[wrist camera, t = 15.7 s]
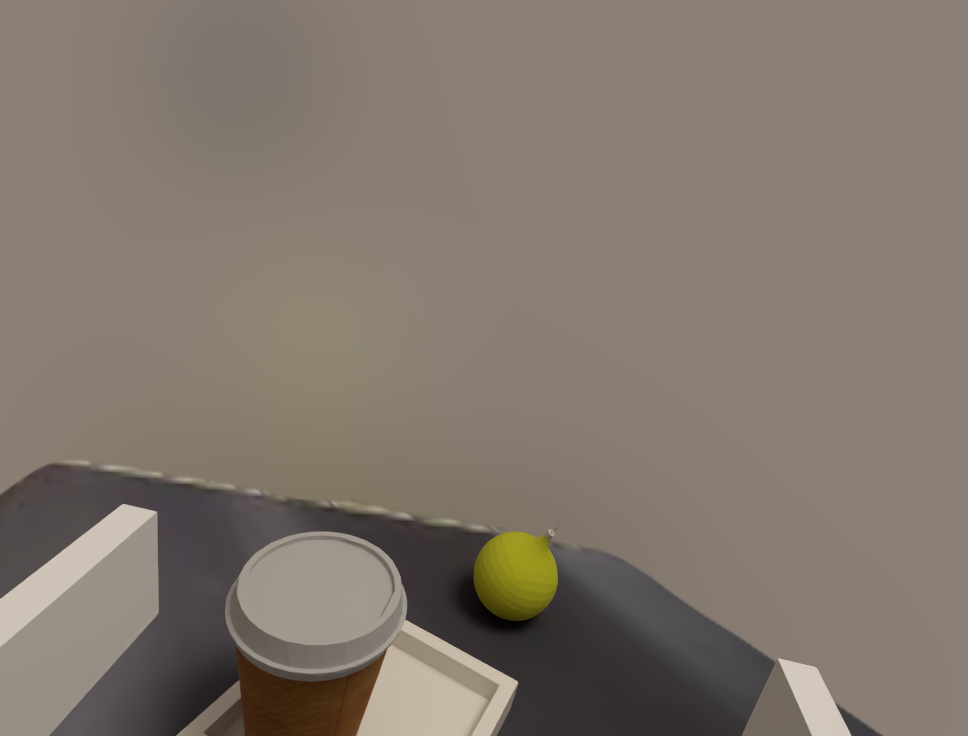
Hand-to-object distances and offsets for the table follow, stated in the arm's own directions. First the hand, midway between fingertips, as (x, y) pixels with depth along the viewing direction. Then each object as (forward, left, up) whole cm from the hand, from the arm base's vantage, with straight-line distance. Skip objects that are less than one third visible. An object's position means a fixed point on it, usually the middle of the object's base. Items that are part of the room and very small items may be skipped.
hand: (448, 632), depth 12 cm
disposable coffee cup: (+12, -12, -26) cm, 31 cm away
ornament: (+6, -31, -27) cm, 41 cm away
